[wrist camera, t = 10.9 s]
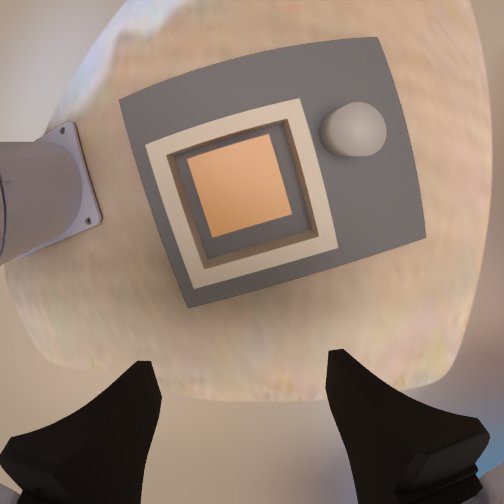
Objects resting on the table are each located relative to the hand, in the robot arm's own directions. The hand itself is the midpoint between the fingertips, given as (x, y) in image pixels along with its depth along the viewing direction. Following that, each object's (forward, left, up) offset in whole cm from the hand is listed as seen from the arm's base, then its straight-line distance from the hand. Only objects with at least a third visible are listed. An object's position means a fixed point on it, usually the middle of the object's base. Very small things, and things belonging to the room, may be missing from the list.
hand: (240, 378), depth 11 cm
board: (+5, +7, -10) cm, 13 cm away
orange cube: (+2, +7, -9) cm, 12 cm away
